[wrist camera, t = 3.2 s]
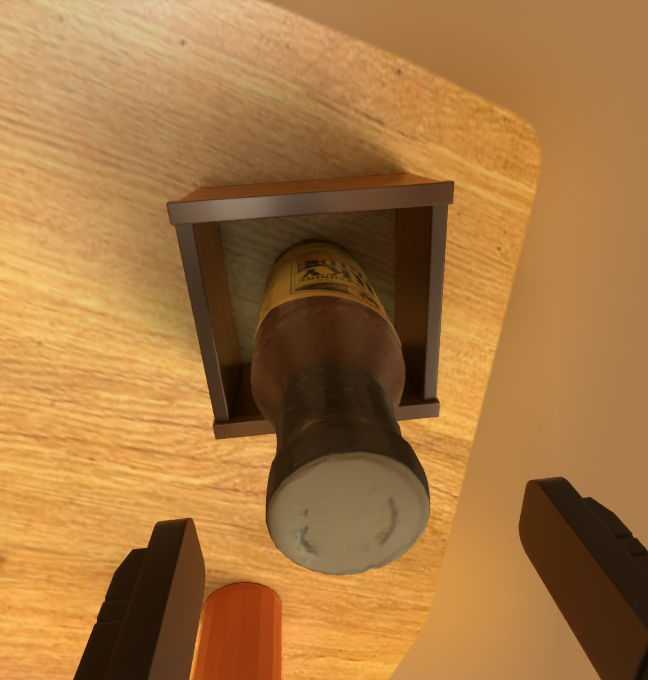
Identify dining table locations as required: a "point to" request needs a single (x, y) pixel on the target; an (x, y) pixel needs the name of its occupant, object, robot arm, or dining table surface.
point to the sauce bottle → (334, 417)
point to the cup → (241, 635)
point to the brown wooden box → (311, 199)
